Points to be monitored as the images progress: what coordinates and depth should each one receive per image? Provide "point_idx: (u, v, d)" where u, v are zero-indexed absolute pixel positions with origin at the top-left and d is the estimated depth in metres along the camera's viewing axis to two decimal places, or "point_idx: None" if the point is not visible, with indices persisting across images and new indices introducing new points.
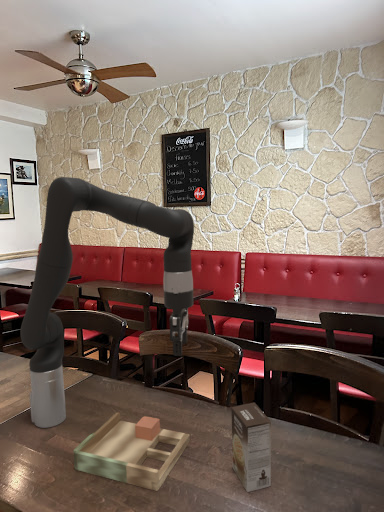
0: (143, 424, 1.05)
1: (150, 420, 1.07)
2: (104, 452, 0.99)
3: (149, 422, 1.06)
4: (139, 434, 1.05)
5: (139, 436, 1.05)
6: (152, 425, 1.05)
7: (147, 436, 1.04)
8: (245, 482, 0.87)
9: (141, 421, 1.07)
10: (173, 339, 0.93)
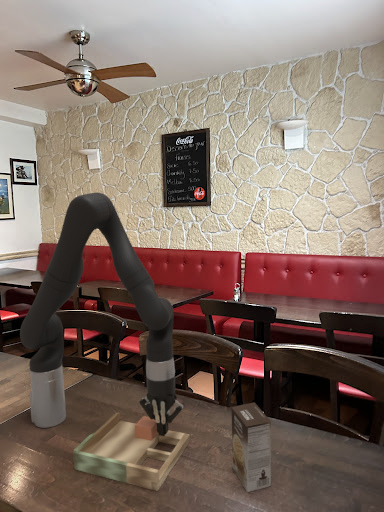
0: (143, 423, 1.05)
1: (150, 420, 1.07)
2: (104, 452, 0.99)
3: (149, 422, 1.06)
4: (139, 434, 1.05)
5: (139, 436, 1.05)
6: (152, 425, 1.05)
7: (147, 436, 1.04)
8: (245, 482, 0.87)
9: (141, 421, 1.07)
10: None
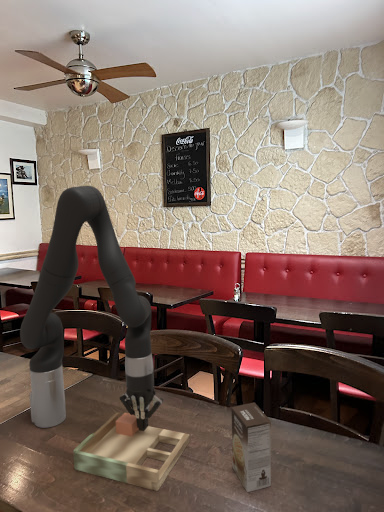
0: (124, 420, 1.08)
1: (131, 416, 1.09)
2: (104, 452, 0.99)
3: (130, 418, 1.08)
4: (119, 430, 1.07)
5: (119, 432, 1.07)
6: (133, 421, 1.07)
7: (127, 432, 1.06)
8: (245, 482, 0.87)
9: (122, 417, 1.09)
10: None
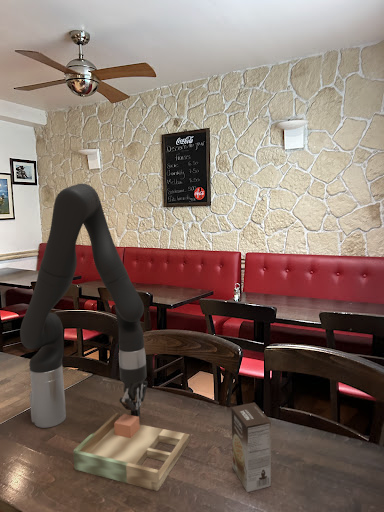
0: (122, 421, 1.07)
1: (129, 417, 1.09)
2: (104, 452, 0.99)
3: (128, 419, 1.08)
4: (118, 431, 1.06)
5: (118, 433, 1.06)
6: (132, 422, 1.06)
7: (126, 433, 1.05)
8: (245, 482, 0.87)
9: (121, 419, 1.08)
10: None
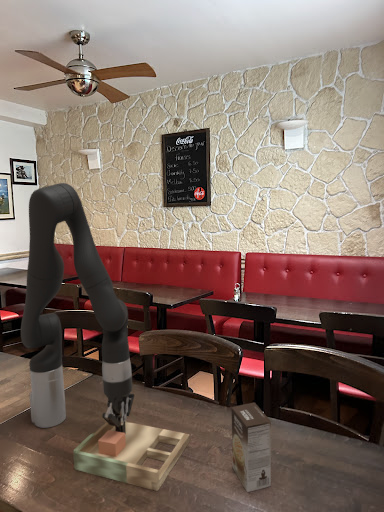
0: (107, 438, 0.99)
1: (115, 434, 1.01)
2: None
3: (114, 436, 1.00)
4: (102, 450, 0.98)
5: (102, 452, 0.98)
6: (117, 440, 0.98)
7: (111, 452, 0.97)
8: (245, 482, 0.87)
9: (105, 436, 1.00)
10: None
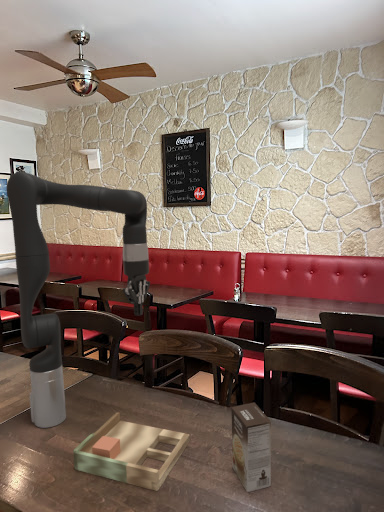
0: (101, 445, 0.96)
1: (109, 440, 0.98)
2: None
3: (108, 443, 0.97)
4: None
5: None
6: (111, 446, 0.96)
7: None
8: (245, 482, 0.87)
9: (100, 442, 0.98)
10: None
